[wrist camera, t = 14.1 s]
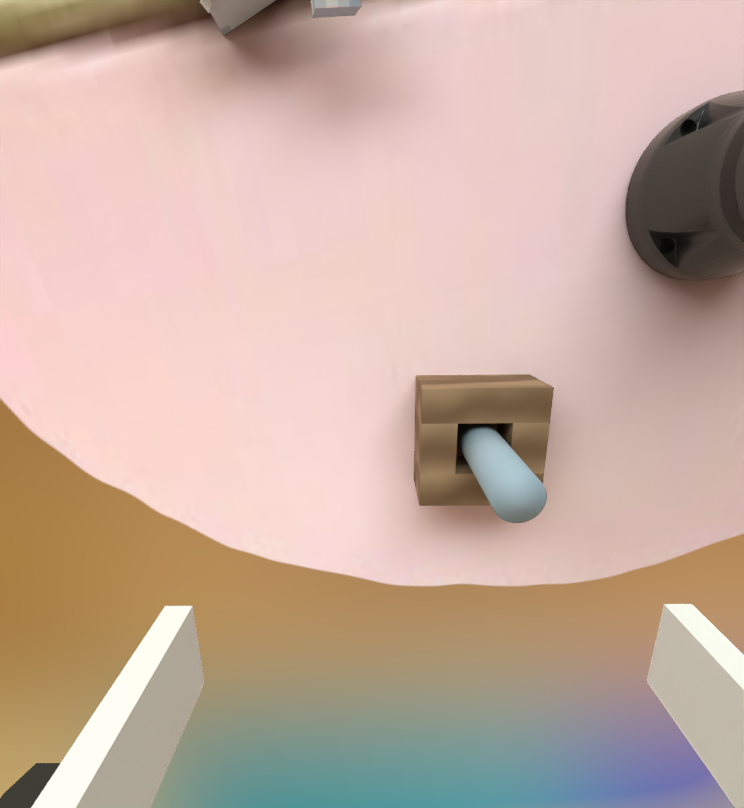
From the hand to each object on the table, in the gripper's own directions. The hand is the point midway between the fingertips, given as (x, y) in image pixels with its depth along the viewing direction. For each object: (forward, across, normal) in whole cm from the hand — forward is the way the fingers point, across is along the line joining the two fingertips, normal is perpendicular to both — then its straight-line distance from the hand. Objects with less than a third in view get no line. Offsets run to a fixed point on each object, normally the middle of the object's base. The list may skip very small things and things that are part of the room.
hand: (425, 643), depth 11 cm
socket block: (+33, +9, -5) cm, 34 cm away
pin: (+31, +9, -5) cm, 33 cm away
